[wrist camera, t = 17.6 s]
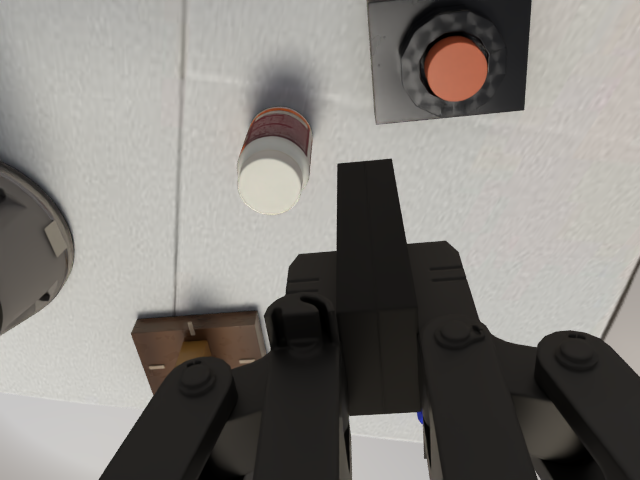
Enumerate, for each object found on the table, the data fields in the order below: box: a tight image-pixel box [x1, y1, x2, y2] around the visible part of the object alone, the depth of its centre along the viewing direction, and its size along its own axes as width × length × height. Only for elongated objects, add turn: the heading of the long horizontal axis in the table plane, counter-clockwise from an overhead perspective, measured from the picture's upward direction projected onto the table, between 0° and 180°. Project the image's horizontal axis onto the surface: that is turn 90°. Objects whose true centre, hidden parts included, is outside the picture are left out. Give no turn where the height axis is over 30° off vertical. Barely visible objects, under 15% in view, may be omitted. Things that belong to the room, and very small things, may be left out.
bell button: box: [424, 36, 488, 102], centre depth 37 cm, size 4×4×2 cm
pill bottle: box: [237, 107, 312, 215], centre depth 41 cm, size 5×5×8 cm
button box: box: [367, 0, 531, 124], centre depth 39 cm, size 10×8×4 cm
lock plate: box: [131, 311, 267, 395], centre depth 54 cm, size 11×10×2 cm
